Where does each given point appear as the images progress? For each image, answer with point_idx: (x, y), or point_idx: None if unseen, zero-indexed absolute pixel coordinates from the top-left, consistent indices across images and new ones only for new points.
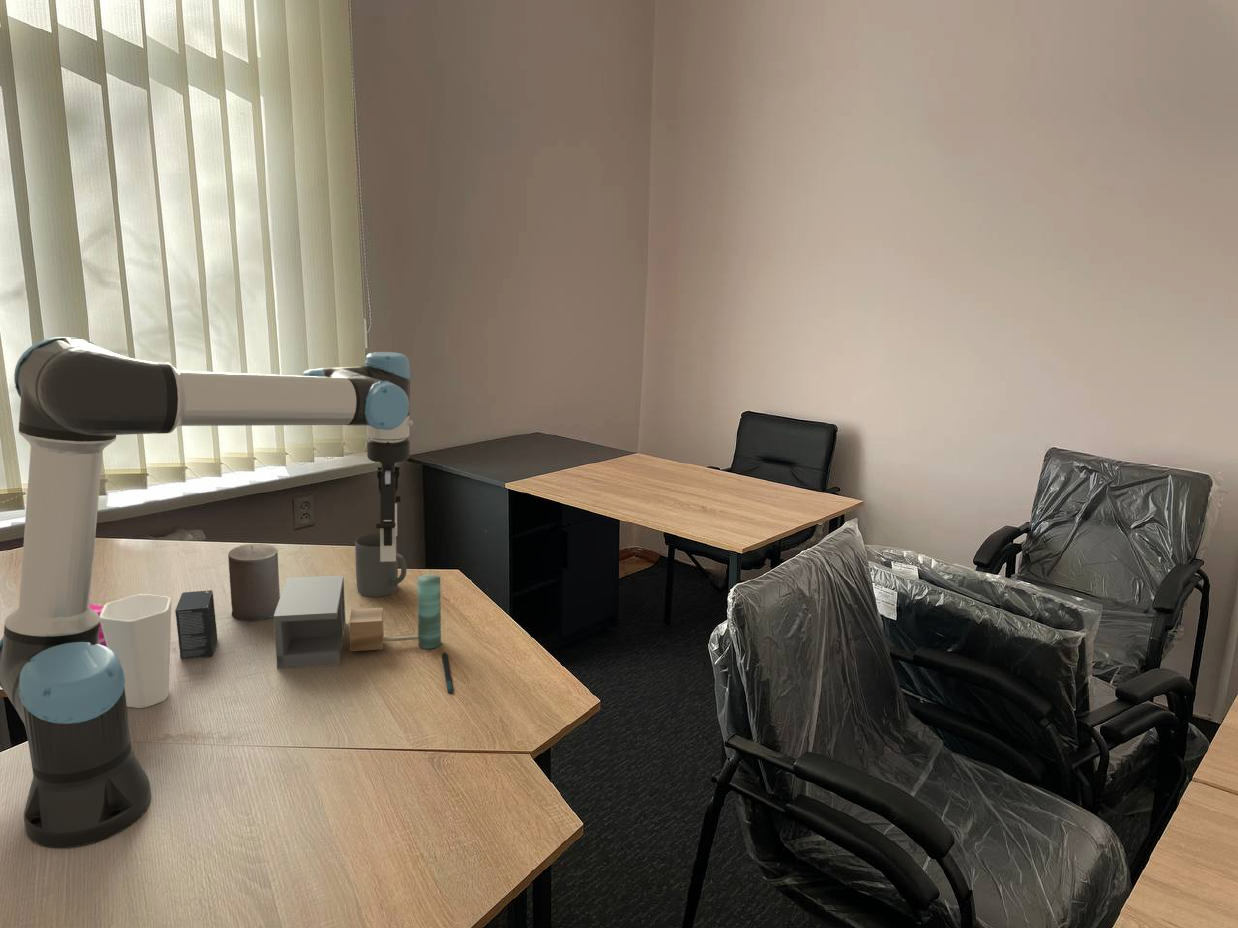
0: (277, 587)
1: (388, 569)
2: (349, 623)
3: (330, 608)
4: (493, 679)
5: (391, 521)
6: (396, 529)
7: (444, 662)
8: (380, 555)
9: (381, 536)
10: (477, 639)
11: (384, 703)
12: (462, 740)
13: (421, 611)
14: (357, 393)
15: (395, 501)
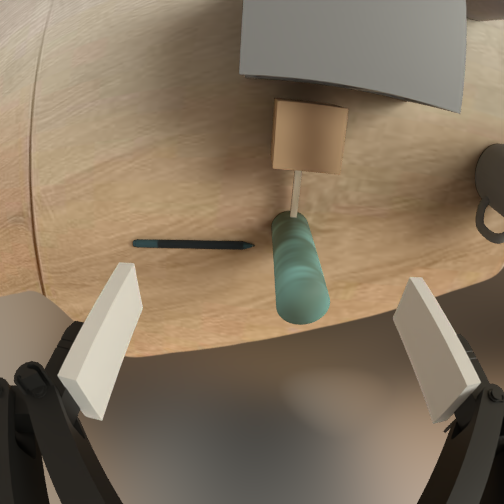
0: (487, 9)
1: (501, 205)
2: (278, 100)
3: (269, 59)
4: (168, 293)
5: (15, 429)
6: (401, 335)
7: (213, 244)
8: (110, 278)
9: (77, 343)
10: None
11: (113, 156)
12: (48, 245)
13: (281, 249)
14: None
15: (454, 422)
